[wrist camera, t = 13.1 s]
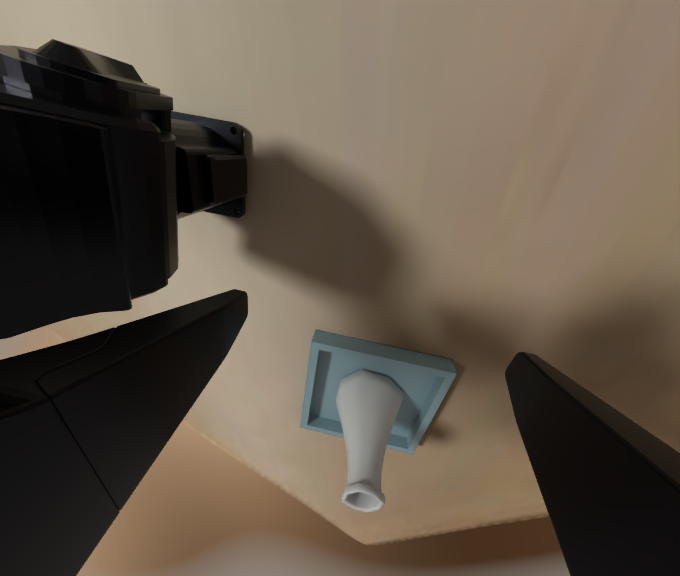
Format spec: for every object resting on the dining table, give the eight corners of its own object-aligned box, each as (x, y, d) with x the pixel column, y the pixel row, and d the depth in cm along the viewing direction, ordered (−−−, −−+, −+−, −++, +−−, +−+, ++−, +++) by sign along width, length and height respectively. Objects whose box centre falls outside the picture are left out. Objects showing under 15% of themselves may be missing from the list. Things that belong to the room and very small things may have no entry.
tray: (304, 413, 32) (300, 427, 30) (315, 329, 25) (311, 341, 24) (411, 439, 31) (412, 454, 30) (452, 359, 25) (456, 373, 23)
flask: (376, 423, 30) (374, 533, 22) (324, 395, 29) (300, 498, 21) (416, 391, 27) (433, 506, 18) (359, 358, 26) (347, 463, 17)
